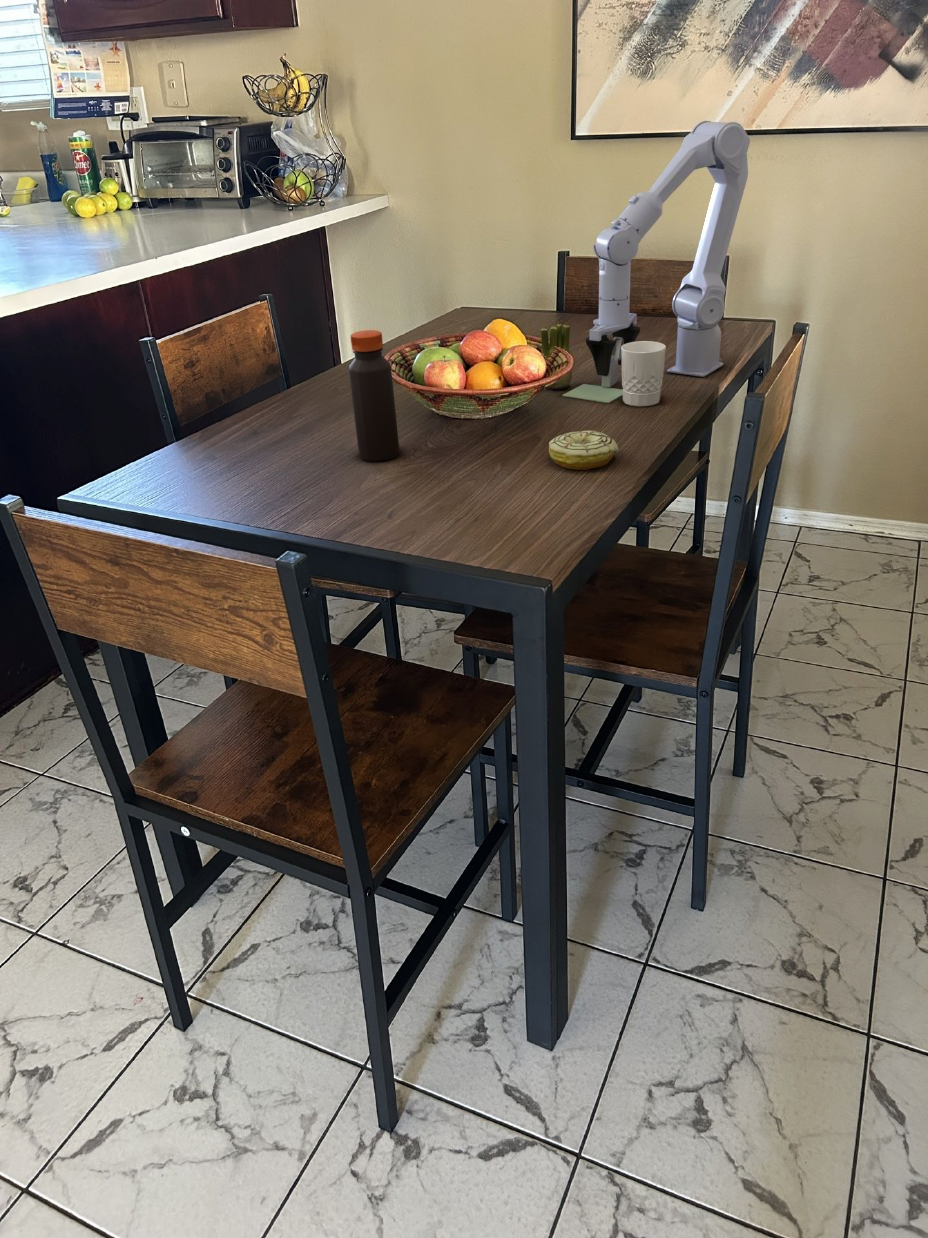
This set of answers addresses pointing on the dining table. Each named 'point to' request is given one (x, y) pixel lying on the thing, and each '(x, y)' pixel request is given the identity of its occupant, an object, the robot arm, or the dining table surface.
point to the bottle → (373, 398)
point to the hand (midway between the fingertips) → (612, 369)
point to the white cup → (642, 372)
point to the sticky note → (595, 393)
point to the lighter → (613, 364)
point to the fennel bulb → (558, 339)
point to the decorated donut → (582, 449)
